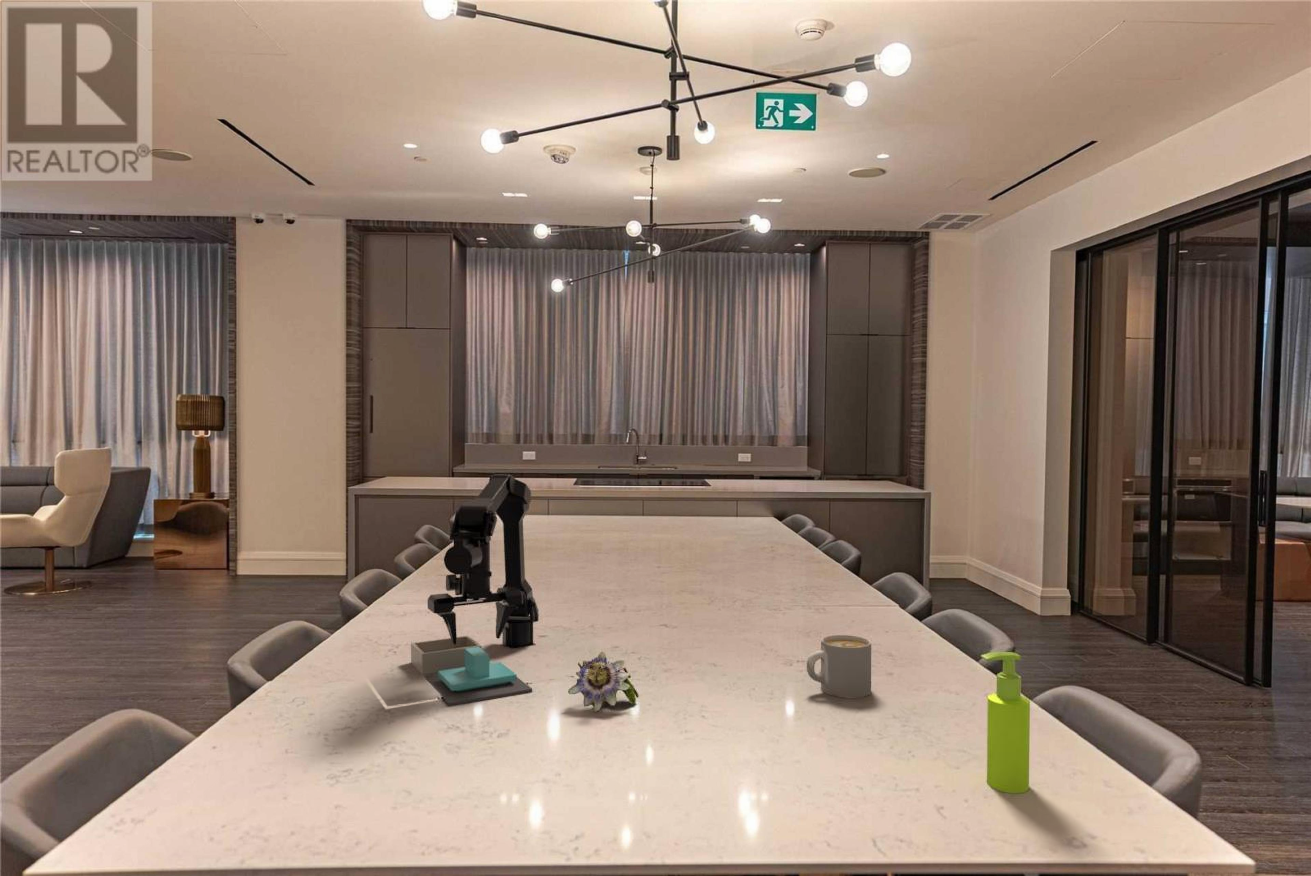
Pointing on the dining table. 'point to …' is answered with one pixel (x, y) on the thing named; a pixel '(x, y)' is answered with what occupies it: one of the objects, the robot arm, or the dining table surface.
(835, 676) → the coffee mug
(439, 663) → the storage box
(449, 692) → the rubber mat
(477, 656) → the lid
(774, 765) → the dining table surface
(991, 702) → the soap dispenser
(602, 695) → the passion flower
